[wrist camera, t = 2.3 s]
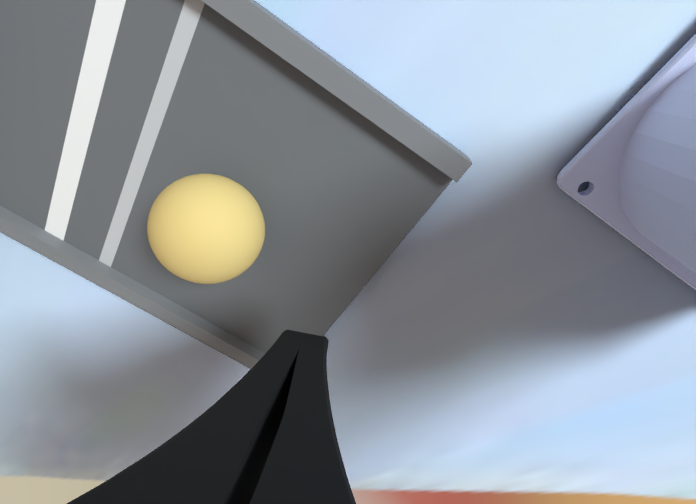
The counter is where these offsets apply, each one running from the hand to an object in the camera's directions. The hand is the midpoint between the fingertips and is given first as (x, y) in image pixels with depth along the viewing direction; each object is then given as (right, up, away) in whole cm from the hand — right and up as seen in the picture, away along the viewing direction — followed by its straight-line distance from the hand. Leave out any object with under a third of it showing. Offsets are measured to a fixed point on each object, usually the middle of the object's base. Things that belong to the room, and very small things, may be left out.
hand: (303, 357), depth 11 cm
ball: (-3, +5, +4) cm, 7 cm away
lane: (-5, +7, +4) cm, 9 cm away
